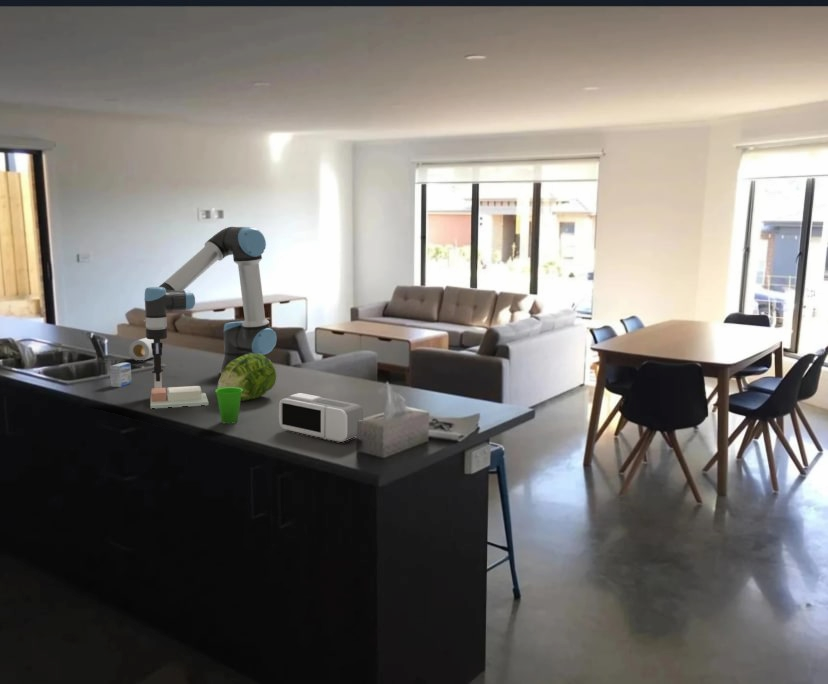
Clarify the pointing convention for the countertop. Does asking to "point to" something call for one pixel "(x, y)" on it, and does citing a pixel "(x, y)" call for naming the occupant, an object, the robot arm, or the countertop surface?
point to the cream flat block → (184, 393)
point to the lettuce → (249, 375)
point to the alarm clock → (320, 416)
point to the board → (179, 402)
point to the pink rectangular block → (158, 394)
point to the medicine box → (120, 374)
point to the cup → (229, 403)
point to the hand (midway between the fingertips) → (158, 389)
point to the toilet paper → (141, 349)
